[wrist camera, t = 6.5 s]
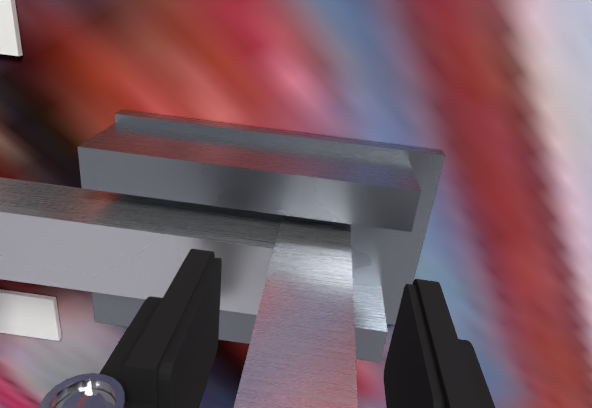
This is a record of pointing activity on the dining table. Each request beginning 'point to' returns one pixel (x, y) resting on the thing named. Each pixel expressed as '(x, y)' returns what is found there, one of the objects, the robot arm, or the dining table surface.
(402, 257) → the grey metal bracket
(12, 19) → the strips
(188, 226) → the grey angular piece
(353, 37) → the dining table surface
